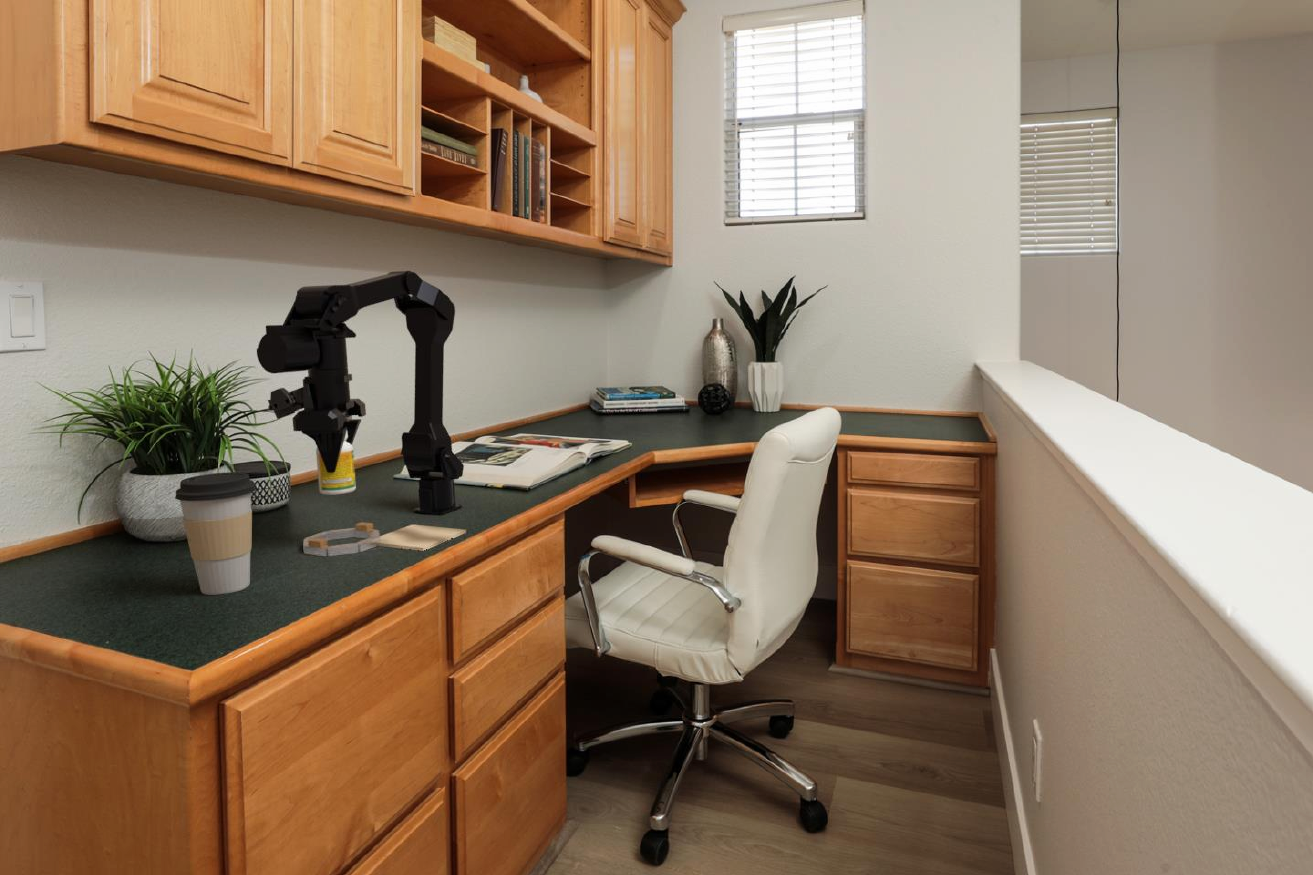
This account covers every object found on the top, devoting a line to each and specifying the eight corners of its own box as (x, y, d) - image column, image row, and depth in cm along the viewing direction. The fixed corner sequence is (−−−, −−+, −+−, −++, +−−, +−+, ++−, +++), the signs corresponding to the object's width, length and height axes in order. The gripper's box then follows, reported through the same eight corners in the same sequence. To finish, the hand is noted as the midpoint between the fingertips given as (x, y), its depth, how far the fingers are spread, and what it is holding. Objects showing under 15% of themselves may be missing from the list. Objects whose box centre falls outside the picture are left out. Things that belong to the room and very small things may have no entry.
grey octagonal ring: (341, 532, 133) (340, 520, 132) (395, 538, 128) (394, 525, 128) (287, 551, 122) (286, 537, 122) (343, 558, 118) (342, 544, 118)
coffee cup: (177, 588, 106) (164, 478, 104) (252, 571, 113) (241, 468, 111) (197, 605, 100) (184, 488, 97) (275, 586, 106) (265, 477, 104)
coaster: (412, 527, 135) (412, 524, 135) (466, 532, 131) (466, 529, 131) (366, 544, 125) (366, 541, 125) (423, 551, 121) (422, 547, 121)
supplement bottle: (314, 491, 124) (309, 431, 123) (349, 486, 128) (344, 427, 126) (326, 496, 120) (321, 434, 119) (361, 491, 124) (357, 430, 122)
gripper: (292, 366, 129) (300, 460, 132) (249, 374, 111) (260, 483, 113) (363, 364, 131) (369, 457, 133) (332, 372, 112) (341, 480, 115)
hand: (336, 468), depth 123 cm, fingers closed on supplement bottle, 5 cm apart
